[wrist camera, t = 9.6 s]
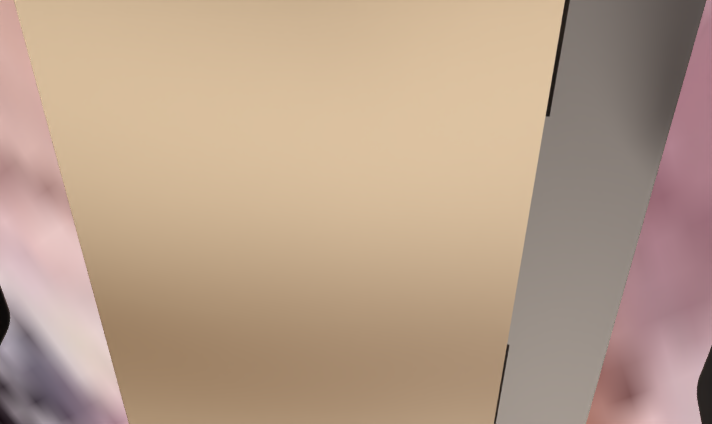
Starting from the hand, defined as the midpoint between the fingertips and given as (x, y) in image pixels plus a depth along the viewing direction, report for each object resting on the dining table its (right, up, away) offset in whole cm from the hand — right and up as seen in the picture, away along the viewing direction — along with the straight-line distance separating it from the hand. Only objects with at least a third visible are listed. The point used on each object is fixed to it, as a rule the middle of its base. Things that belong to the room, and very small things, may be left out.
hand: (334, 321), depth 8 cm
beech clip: (+1, +3, +4) cm, 5 cm away
